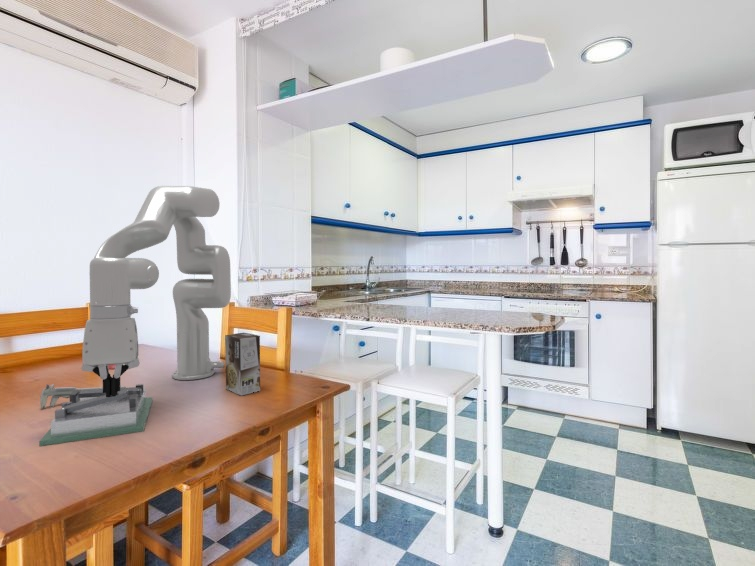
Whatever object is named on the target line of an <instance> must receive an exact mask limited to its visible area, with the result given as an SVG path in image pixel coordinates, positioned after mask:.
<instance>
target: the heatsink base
mask: <svg viewBox="0 0 755 566" xmlns="http://www.w3.org/2000/svg"><path fill="white" fill-rule="evenodd" d="M135 387H142V390H141V389H139V390H133V395H128V396H127V397H125V398H121V399H118V400H114V401H110V402H107V403H103V404H99V405H96V406H92V407H88V408H84V409H81V410H77V411H73V412H70V413H66V409H61V408H62V407H63V406H64V405H69V404H73V403H77V402H81V401H84V400H88V399H92V398H96V397H88V398H78V394H79V393H80V390H75V391H73V392H72V393H71V394H70V398H69V401H66V402H62V403H61V408H60V409H59V408H58V409H56V410H55V411H54V418H53V419H52V420H51V421H50V428H49V430H48V431H47V432H46V433H45V434H44V435H43V437H41V439H40V440H39V441H38V442H39V447H42V446H49V445H51V446H52V445H58V444H63V443H70V442H79V441H84V440H91V439H92V440H93V439H97V438H105V437H112V436H113V437H114V436H119V435H125V434H133V433H139V432H140V433H141V432H144V430H145V427H146V425H147V421H148V417H149V413H150V411H151V407H152V405H153V399H154V398H153V397H154V396H147V397H146V387H144V383H139V384H135Z"/></svg>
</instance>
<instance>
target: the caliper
mask: <svg viewBox="0 0 755 566" xmlns="http://www.w3.org/2000/svg"><path fill="white" fill-rule="evenodd" d="M120 388H127V387H126V386H123V385H120ZM95 389H103V386H102V387H84V388H83V387H81V388H77V387H76V386H72V387H71V386H70V387H69V386H68V387H65V386H63V387H55V384H54V383H52V384H51V385H50V384H48V383H47V384H46V386H45V388H42V390H41V393H40V400H39V401H40V408H41V409H42V410H45V409H46V405H47V401H48V397H51V398H50V402H49V408H50V407H52V408H54V407H55V405H56V404H57V402H58V400H59V399H60V398H63V399H70V394H71V393H72V392H73V391H75V390H80V392H81V391H82V390H95Z"/></svg>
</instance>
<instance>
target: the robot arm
mask: <svg viewBox="0 0 755 566" xmlns="http://www.w3.org/2000/svg"><path fill="white" fill-rule="evenodd" d="M219 210H220V198H219V196H218V195H217V193H216V192H215V190H213V189H212V188H204V187H198V186H191V185H160V186H159V185H158V186H155V187H153V188H152V189H150V191H149V192H148V194H147V196H146V198H145V199H144V201H143V204H142V205H141V207H140V209H139V212H137V215H136V217H135V219H134V221H133V222H132V223H131V224H129V225H127V226H125V227H123V228H122V229H121V230H119V231H117V232H116V233H114V234H112V235H111V236H110V237H108V238H107V239H106V240H105V241H104V242H102V244H101V245H100V247H98V250H97V252H96V253H95V255H94V258H92V259H91V260H90V262H89V314H90V315H89V318H90V319H87V320H86V322H85V326H84V327H85V328H84V331H83V332H84V333H83V341H82V351H81V353H82V354H81V355H82V357H81V358H82V359H81V360H82V366H81V368H80V369H81V371H82V372H86V373H87V372H88V373H94V375H96V376H97V377H100V379H101V380H102V387H103V393H106V397H109V396H112V397H114V396H116V394H117V391H120V386H121V376H122V375H123V374H124V373H126V371H127V370H131V369H134V368H138V367H140V364H141V363H140V362H141V361H140V359H139V336H138V335H139V334H138V328H137V322H136V319H135V318H134V317H131V316H132V315H134V314H138V313H139V307H135V306H132V304H131V290H146V289H149V288H152V287H153V286H154V285H156V284H157V282H158V281H159V278H160V272H159V271H160V270H159V268H158V266H157V264H156V263H155V262H154V261H152V260H150V259H148V258H143V257H141V258H140V257H128V256H130V255H131V254H134V253H136V252H139V251H141V250H144V249H148V248H150V247H153V246H156V245H158V244H161V243H163V242H165V241H166V240H167V239H168V237H169V235H170V232H171V230H172V228H174V230H175V237H176V263H177V267H178V268H177V269H178V270H179V272H181V273H183V274H185V275H194V276H195V275H201V276H203V275H204V276H205V275H207V276H208V275H209V276H210V275H211V276H212V278H186V279H181V280H179V281H177V282H176V283H175V284H174V285H173V288H172V298H173V303H174V309H175V316H176V352H177V353H176V355H177V356H176V357H177V361H176V362H177V364H176V365H177V370H176V371H173V372H172V374H171V376H172V379H174V380H178V381H194V380H201V379H205V378H208V377H211V376H213V375H215V369H216V368H217V369H222V368H223V369H224V368H225V361H219V360H217V361H212V360H211V358H210V323H209V322H210V321H209V319H208V317H207V315H206V313H205V312H204V311H203V309H223V308H226V307H227V306H228V305H230V301H231V297H232V291H231V289H232V284H231V283H232V281H231V278H232V277H231V258H230V253H229V252H228V250H227V248H225V246H222V245H215V244H214V245H212V244H211V245H210V244H208V245H207V244H206V230H205V228H204V226H203V224H202V223H201V222H200V220H199V219H198V218H213V217H214V216H216V215H217V214H218V212H219ZM126 363H127V364H126ZM115 364H116V365H115ZM123 364H124V365H123ZM108 365H115V369H114V373H113V374H112V376H111V373H110V372H109V371H110V369H108Z"/></svg>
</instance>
